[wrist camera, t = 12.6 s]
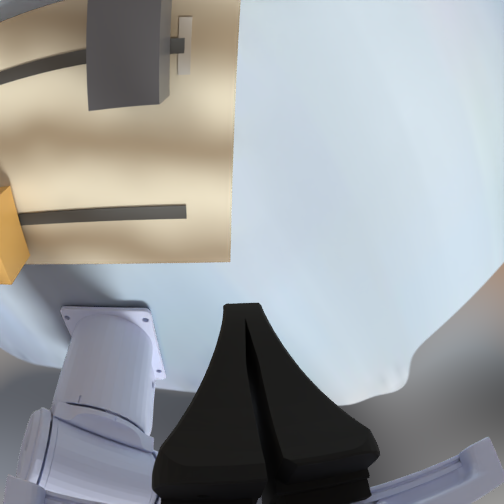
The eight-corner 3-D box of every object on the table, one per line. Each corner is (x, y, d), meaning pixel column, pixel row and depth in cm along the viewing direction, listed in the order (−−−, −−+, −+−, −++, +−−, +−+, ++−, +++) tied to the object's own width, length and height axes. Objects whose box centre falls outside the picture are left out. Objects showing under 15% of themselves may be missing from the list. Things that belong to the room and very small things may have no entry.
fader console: (228, 244, 22) (230, 262, 20) (-55, 251, 19) (-67, 264, 17) (238, -11, 13) (241, -19, 11) (-93, 79, 10) (-110, 85, 8)
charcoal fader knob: (169, 95, 14) (159, 104, 11) (109, 100, 13) (88, 111, 11) (172, -2, 11) (162, -15, 8) (110, 5, 11) (87, -4, 8)
